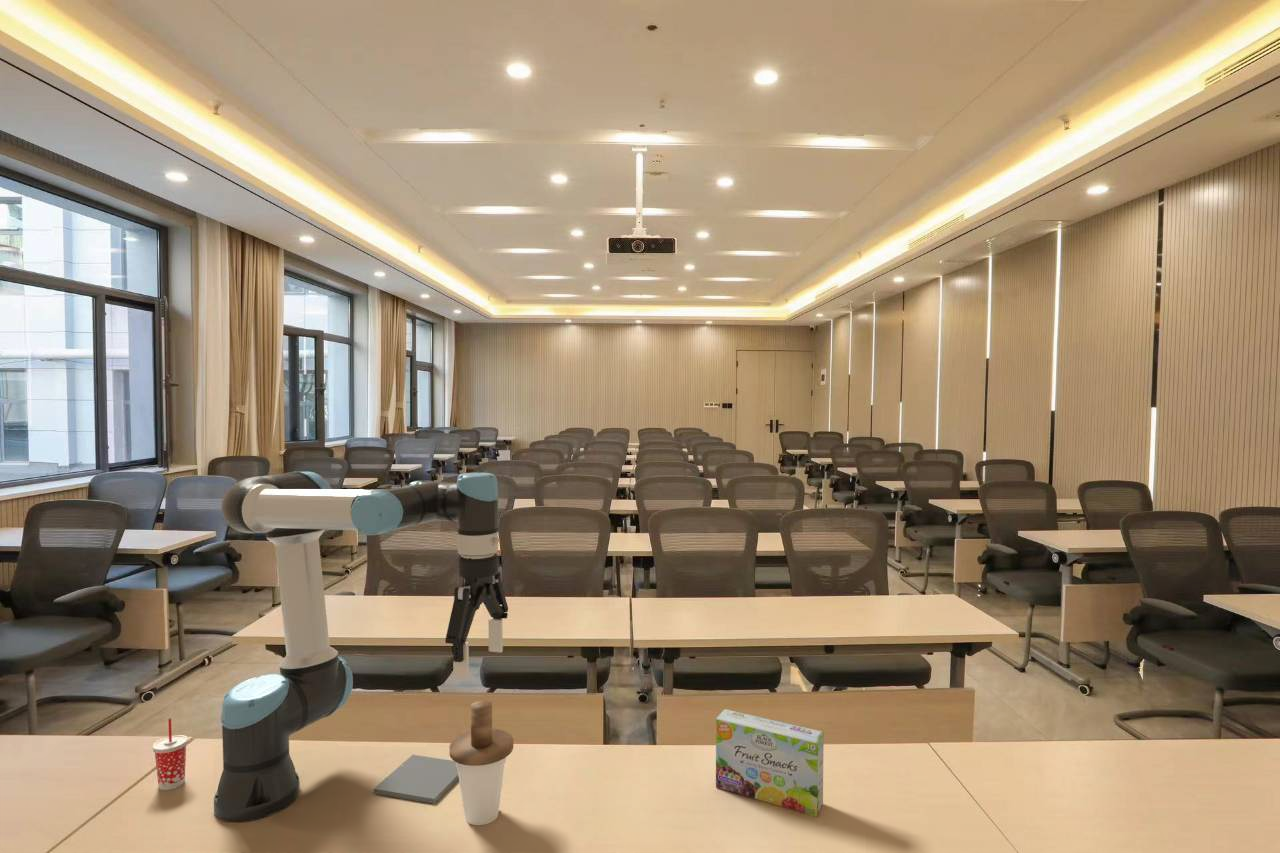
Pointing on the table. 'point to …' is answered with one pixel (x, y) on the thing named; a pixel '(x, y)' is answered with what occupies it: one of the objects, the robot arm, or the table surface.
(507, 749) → the lid
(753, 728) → the snack box
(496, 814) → the foam cup
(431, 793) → the mat
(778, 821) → the table surface
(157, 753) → the beverage cup
